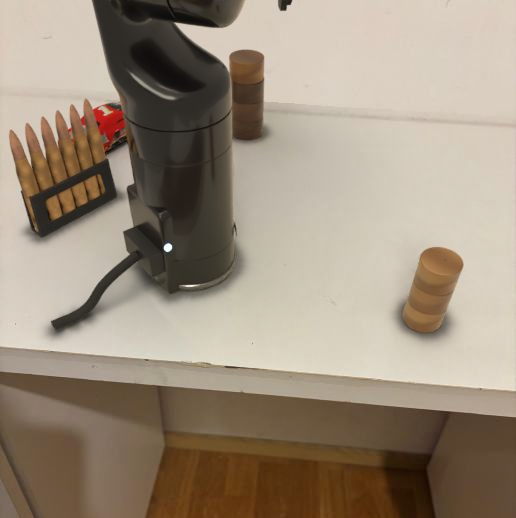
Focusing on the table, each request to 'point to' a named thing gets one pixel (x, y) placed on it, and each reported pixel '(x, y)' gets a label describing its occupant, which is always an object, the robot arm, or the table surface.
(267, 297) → the table surface
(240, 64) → the oak chip
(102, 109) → the race car
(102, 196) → the ammunition clip
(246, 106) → the walnut chip pile
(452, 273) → the oak chip base pile
